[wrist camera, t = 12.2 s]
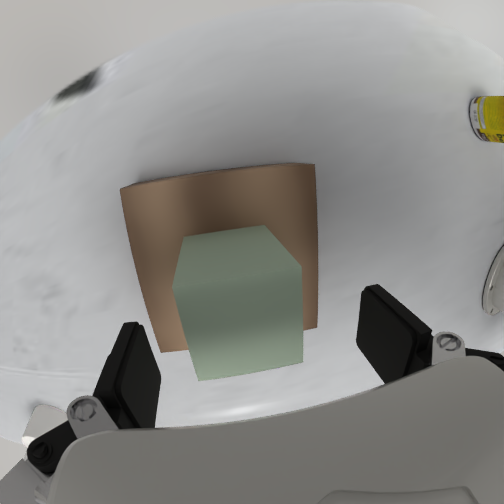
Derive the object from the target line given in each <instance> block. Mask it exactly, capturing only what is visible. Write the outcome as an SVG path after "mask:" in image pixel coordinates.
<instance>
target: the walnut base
mask: <svg viewBox="0 0 504 504" xmlns="http://www.w3.org/2000/svg"><path fill="white" fill-rule="evenodd" d="M120 194H121V200H122V206H123V212H124V217H125V222H126V227H127V232H128V237H129V242H130V246H131V251H132V255H133V259H134V263H135V268H136V272H137V275H138V279H139V283H140V287H141V291H142V294H143V298H144V301H145V305H146V308H147V311H148V315H149V318H150V321H151V325H152V328H153V331H154V334H155V337H156V340H157V343H158V346H159V349H160V352H161V353H163V352H173V351H182V350H189V349H188V345H187V342H186V338H185V335H184V331H183V328H182V324H181V320H180V317H179V313H178V309H177V305H176V301H175V297H174V293H173V289H172V285H173V280H174V276H175V271H176V267H177V263H178V258H179V254H180V250H181V246H182V242H183V238H184V237H186V236H193V235H199V234H205V233H212V232H219V231H225V230H232V229H239V228H246V227H253V226H260V225H265V226H266V227H267V228H268V229H269V230H270V232H271V233H272V234H273V235H274V236H275V237H276V238H277V239H278V240H279V242H280V243H281V244H282V245H283V246H284V247H285V248H286V249H287V251H288V252H289V253H290V254H291V255H292V256H293V257H294V258H295V260H296V261H297V262H298V263H299V264H300V265H301V266H302V296H303V331H304V330H308V329H313V328H317V319H318V225H317V198H316V179H315V164H304V163H286V164H272V165H261V166H250V167H240V168H231V169H223V170H215V171H207V172H200V173H193V174H186V175H180V176H173V177H167V178H161V179H156V180H150V181H145V182H139V183H135V184H132V185H129V186H127V187H124V188H121V189H120Z"/></svg>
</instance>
